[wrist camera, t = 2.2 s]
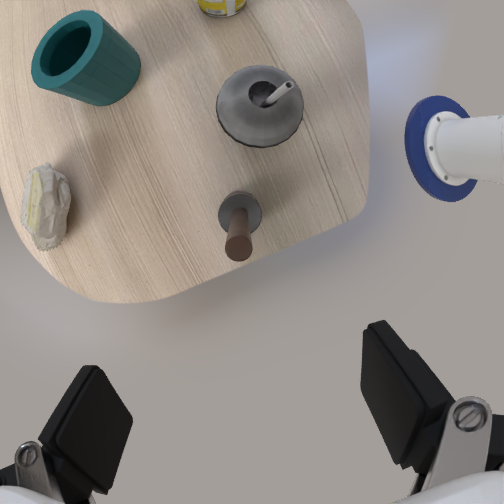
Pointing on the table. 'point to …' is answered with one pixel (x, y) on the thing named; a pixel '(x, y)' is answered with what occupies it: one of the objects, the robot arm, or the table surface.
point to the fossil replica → (46, 206)
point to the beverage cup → (260, 106)
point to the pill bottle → (221, 7)
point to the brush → (239, 223)
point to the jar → (85, 60)
